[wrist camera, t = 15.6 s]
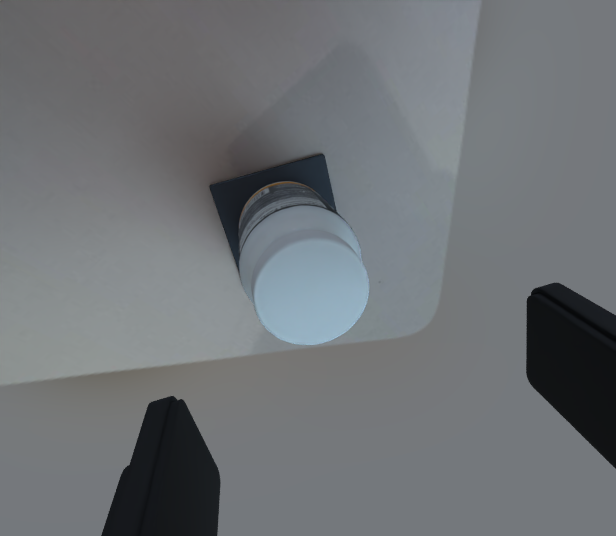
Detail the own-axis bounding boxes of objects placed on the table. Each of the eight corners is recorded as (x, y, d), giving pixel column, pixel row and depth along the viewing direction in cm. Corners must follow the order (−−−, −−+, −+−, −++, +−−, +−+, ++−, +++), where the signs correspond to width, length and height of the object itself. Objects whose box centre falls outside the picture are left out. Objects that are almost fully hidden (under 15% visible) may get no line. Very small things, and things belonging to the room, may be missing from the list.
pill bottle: (335, 255, 26) (390, 338, 16) (249, 276, 25) (258, 372, 16) (321, 169, 23) (376, 210, 14) (226, 190, 23) (221, 246, 14)
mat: (322, 153, 23) (324, 154, 23) (345, 257, 26) (346, 259, 26) (209, 185, 23) (209, 186, 22) (245, 287, 26) (245, 289, 25)
